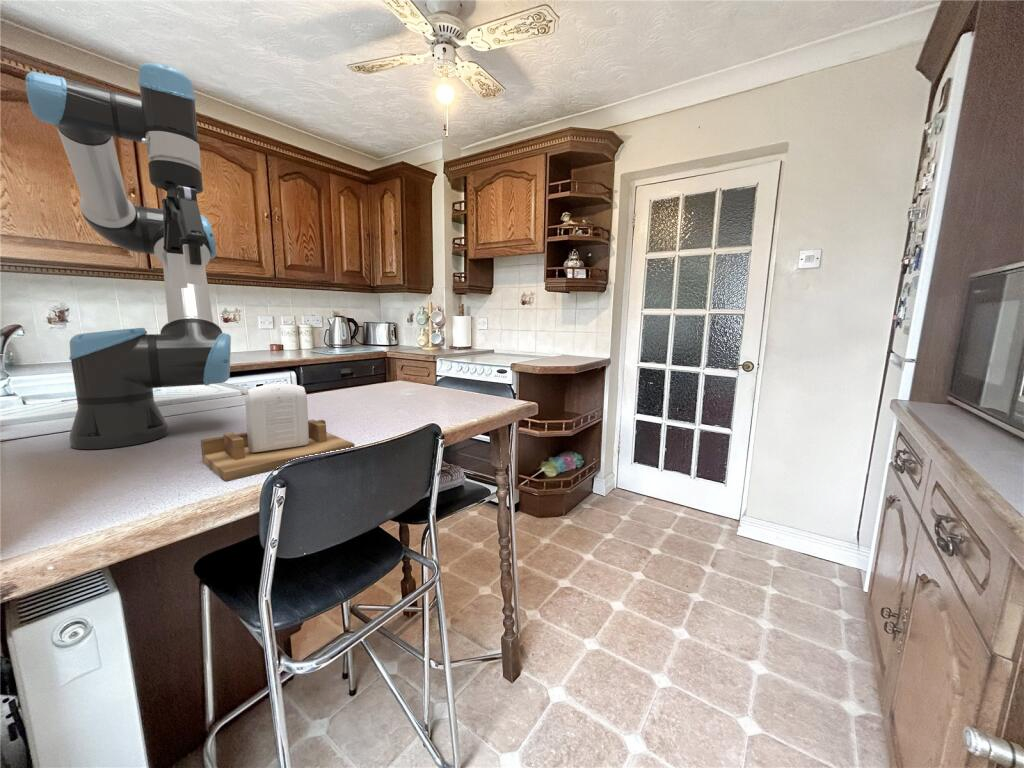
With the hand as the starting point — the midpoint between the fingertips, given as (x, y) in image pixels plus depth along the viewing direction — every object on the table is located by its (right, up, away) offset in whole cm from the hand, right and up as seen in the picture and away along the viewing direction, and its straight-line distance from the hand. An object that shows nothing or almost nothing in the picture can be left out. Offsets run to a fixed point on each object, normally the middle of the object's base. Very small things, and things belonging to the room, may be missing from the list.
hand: (187, 286), depth 78 cm
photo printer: (+17, -31, +2) cm, 35 cm away
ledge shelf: (+17, -32, +1) cm, 36 cm away
